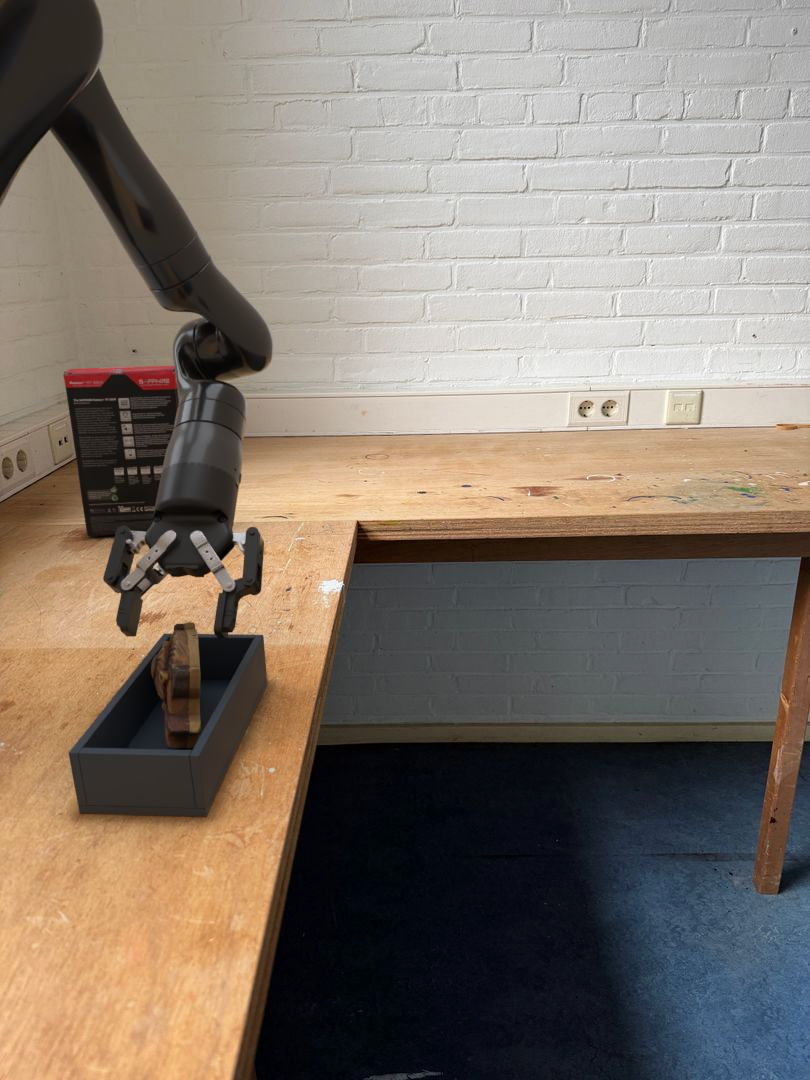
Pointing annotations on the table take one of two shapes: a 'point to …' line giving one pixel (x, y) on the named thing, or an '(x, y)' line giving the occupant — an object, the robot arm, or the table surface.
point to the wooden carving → (179, 686)
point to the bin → (139, 736)
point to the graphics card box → (120, 441)
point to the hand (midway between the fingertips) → (173, 635)
